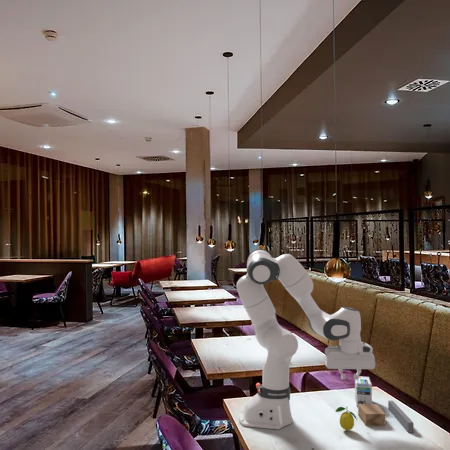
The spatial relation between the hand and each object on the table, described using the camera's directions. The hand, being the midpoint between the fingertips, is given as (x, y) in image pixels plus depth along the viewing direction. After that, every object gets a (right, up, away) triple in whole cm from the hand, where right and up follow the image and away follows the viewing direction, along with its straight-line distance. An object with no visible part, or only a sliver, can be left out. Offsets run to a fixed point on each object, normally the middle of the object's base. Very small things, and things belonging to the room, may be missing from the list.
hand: (349, 379), depth 186 cm
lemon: (-4, -17, -10) cm, 20 cm away
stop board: (+21, -17, 0) cm, 27 cm away
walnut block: (+9, -17, 0) cm, 20 cm away
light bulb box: (+11, -18, +18) cm, 27 cm away
